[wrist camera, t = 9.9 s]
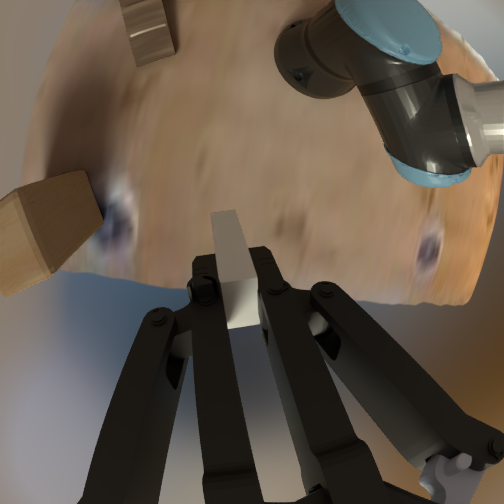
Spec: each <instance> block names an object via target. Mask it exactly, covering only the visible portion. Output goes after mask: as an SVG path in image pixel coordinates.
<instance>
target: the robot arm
mask: <svg viewBox="0 0 504 504" xmlns="http://www.w3.org/2000/svg"><path fill="white" fill-rule="evenodd" d="M440 38H441V35H440V32H439V30H438V28H437V25H436V24H435V22H434V20H433V19H432V17H431V16H430V14H429V13H428V12H427V11H426V9H425V8H424V7H423V6H422V5H421V4H420V3H419V2H418V1H417V0H332V1H331V2H329V3H328V4H327V5H326V6H325V7H324V8H323V9H322V10H320V11H319V12H318V13H317V14H316V15H315V16H314V17H313V18H308V19H304V20H300V21H297V22H295V23H293V24H291V25H289V26H288V27H287V28H286V29H285V30H284V31H283V32H282V33H281V34H280V35H279V37H278V39H277V41H276V43H275V48H274V57H275V62H276V65H277V68H278V70H279V72H280V73H281V75H282V76H283V78H284V79H285V80H286V81H287V82H288V83H289V84H290V85H291V86H292V87H293V88H294V89H296V90H297V91H299V92H301V93H302V94H304V95H307V96H310V97H313V98H317V99H331V98H335V97H339V96H342V95H344V94H346V93H348V92H349V91H351V90H352V89H353V88H354V87H355V86H357V87H358V89H359V91H360V93H361V95H362V97H363V99H364V101H365V103H366V105H367V107H368V109H369V111H370V113H371V115H372V117H373V119H374V122H375V124H376V126H377V128H378V130H379V133H380V135H381V137H382V139H383V142H384V147H385V150H386V152H387V153H388V154H389V156H390V157H391V160H392V162H393V164H394V167H395V169H396V170H397V172H398V173H399V174H400V175H401V176H402V177H403V178H404V179H406V180H407V181H409V182H411V183H413V184H416V185H420V186H424V187H433V188H441V187H448V186H452V185H453V183H457V184H459V183H461V182H463V181H464V180H466V179H467V178H468V176H469V175H470V173H471V169H472V167H481V166H482V165H483V163H484V162H485V160H486V159H487V157H488V156H490V155H491V154H504V81H492V82H482V83H471V82H469V81H467V80H466V79H464V78H463V77H461V76H460V75H458V74H448V75H443V74H442V73H441V70H440V68H439V66H438V64H437V62H436V60H437V58H438V57H439V56H440V55H441V52H442V42H441V41H440V40H439V39H440ZM210 215H211V223H212V231H213V239H214V247H215V254H209V255H202V256H196V258H195V259H194V261H193V262H192V275H193V276H192V278H191V279H190V281H189V282H188V283H187V290H188V294H189V297H190V303H189V304H188V305H187V306H185V307H184V308H182V309H180V310H177V311H175V312H173V311H172V310H170V309H169V308H165V307H160V308H155V309H153V310H151V311H150V312H148V313H147V314H146V316H145V317H144V319H143V321H142V323H141V326H140V328H139V330H138V333H137V335H136V338H135V340H134V343H133V345H132V347H131V349H130V352H129V354H128V357H127V359H126V362H125V364H124V367H123V369H122V372H121V375H120V377H119V380H118V383H117V385H116V388H115V391H114V393H113V396H112V399H111V402H110V405H109V408H108V410H107V413H106V416H105V419H104V422H103V425H102V428H101V431H100V435H99V438H98V441H97V444H96V447H95V451H94V454H93V458H92V461H91V465H90V469H89V472H88V476H87V480H86V484H85V488H84V492H83V496H82V498H81V499H80V501H79V502H78V503H77V504H158V501H159V496H160V490H161V484H162V479H163V473H164V469H165V463H166V458H167V453H168V449H169V444H170V438H171V434H172V429H173V425H174V420H175V415H176V411H177V407H178V402H179V398H180V393H181V389H182V385H183V380H184V376H185V372H186V368H187V364H188V360H189V356H191V355H193V368H194V383H195V395H196V406H197V415H198V416H197V417H198V426H199V435H200V444H201V450H202V459H203V466H204V474H203V479H202V485H203V493H204V499H205V504H469V503H470V501H471V499H472V497H473V495H474V493H475V491H476V489H477V487H478V485H479V483H480V481H481V478H482V476H483V474H484V471H485V470H486V469H487V468H489V467H491V466H493V465H495V464H497V463H499V462H500V461H501V460H502V459H503V457H504V434H503V433H502V432H501V431H499V430H497V429H495V428H493V427H491V426H489V425H487V424H485V423H483V422H481V421H479V420H477V419H475V418H473V417H471V416H469V415H467V414H465V413H464V412H463V410H462V409H461V408H460V407H459V406H458V405H457V404H456V403H455V402H454V401H453V400H452V398H451V397H450V396H449V395H448V394H447V393H446V392H445V391H444V390H443V389H442V388H441V387H440V386H439V385H438V384H437V383H436V381H435V380H434V379H433V378H432V377H431V376H430V375H429V374H428V373H427V372H426V371H425V370H424V369H423V368H422V367H421V366H420V365H419V364H418V363H417V362H416V361H415V360H414V359H413V358H412V357H411V356H410V355H409V354H408V353H407V352H406V351H405V350H404V349H403V348H402V347H401V346H400V345H399V344H398V343H397V342H396V341H395V340H394V339H393V338H392V337H391V336H390V335H389V334H388V333H387V332H386V331H385V330H384V329H383V328H382V327H381V326H380V325H379V324H378V323H377V322H376V321H375V320H374V319H373V318H372V317H371V316H370V315H369V314H368V313H367V312H365V310H363V309H362V308H361V307H360V306H359V305H358V304H357V303H356V302H355V301H354V300H353V299H352V298H351V297H350V296H349V295H348V294H347V293H346V292H345V291H343V290H342V289H341V288H340V287H339V286H338V285H336V284H335V283H332V282H328V281H322V282H317V283H316V284H314V285H313V286H312V288H311V290H300V289H295V288H292V287H291V285H290V284H289V283H288V282H286V281H284V279H283V277H282V275H281V273H280V270H279V268H278V266H277V264H276V261H275V259H274V258H273V255H272V253H271V251H270V250H269V249H268V248H266V247H265V246H261V247H254V248H248V247H247V244H246V241H245V238H244V234H243V231H242V228H241V225H240V222H239V219H238V216H237V213H236V210H228V211H221V212H213V213H210ZM259 318H260V320H259ZM260 322H261V325H262V343H265V346H266V350H267V353H268V357H269V361H270V364H271V368H272V371H273V375H274V378H275V382H276V385H277V389H278V392H279V396H280V399H281V403H282V406H283V410H284V413H285V416H286V420H287V423H288V427H289V430H290V434H291V437H292V440H293V444H294V447H295V451H296V454H297V457H298V461H299V464H300V467H301V476H302V481H303V485H304V488H305V492H306V495H307V496H305V497H303V498H301V499H299V500H297V501H296V502H285V503H284V502H280V503H279V502H278V503H277V502H264V500H263V496H262V493H261V488H260V484H259V480H258V476H257V472H256V467H255V463H254V458H253V454H252V450H251V445H250V441H249V436H248V431H247V427H246V422H245V417H244V412H243V407H242V402H241V397H240V393H239V387H238V382H237V377H236V372H235V366H234V361H233V355H232V350H231V344H230V338H229V333H228V329H231V328H237V327H243V326H249V325H255V324H259V323H260ZM323 358H324V359H323ZM324 360H325V361H326V362H327V363H328V365H329V366H330V367H331V368H332V369H333V371H334V372H335V373H336V375H337V376H338V377H339V378H340V380H341V381H342V382H343V383H344V385H345V386H346V387H347V388H348V390H349V391H350V392H351V393H352V395H353V396H354V397H355V398H356V400H357V401H358V402H359V403H360V405H361V406H362V407H363V408H364V410H365V411H366V412H367V413H368V414H369V416H370V417H371V418H372V419H373V421H374V422H375V423H376V424H377V426H378V427H379V428H380V429H381V431H382V432H383V433H384V434H385V435H386V437H387V438H388V439H389V440H390V442H391V443H392V444H393V445H394V446H395V448H396V449H397V450H398V451H399V453H400V454H401V455H402V456H403V457H404V458H405V459H406V460H407V461H408V462H409V463H410V464H412V465H413V466H414V467H415V468H417V469H419V470H420V471H422V474H421V476H420V478H419V483H420V485H421V486H424V487H425V488H426V489H427V490H428V491H429V493H430V495H431V500H428V499H425V498H423V497H420V496H418V495H415V494H412V493H410V492H408V491H406V490H403V489H401V488H399V487H396V486H394V485H392V484H390V483H387V482H385V481H383V480H382V477H381V475H380V473H379V470H378V467H377V465H376V463H375V460H374V458H373V456H372V453H371V451H370V449H369V447H368V445H367V444H366V443H365V442H364V441H363V440H361V439H359V438H358V437H357V436H356V434H355V432H354V429H353V427H352V425H351V422H350V420H349V417H348V415H347V412H346V410H345V408H344V405H343V403H342V401H341V398H340V396H339V393H338V391H337V389H336V386H335V384H334V382H333V379H332V377H331V375H330V372H329V370H328V368H327V366H326V363H325V361H324Z"/></svg>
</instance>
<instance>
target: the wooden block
mask: <svg viewBox="0 0 504 504" xmlns="http://www.w3.org/2000/svg"><path fill="white" fill-rule="evenodd" d="M102 225H103V218H102V215H101V213H100V210H99V207H98V205H97V202H96V199H95V197H94V194H93V191H92V188H91V186H90V183H89V180H88V177H87V174H86V172H85V171H84V170H77V171H73V172H69V173H65V174H62V175H58V176H55V177H51V178H48V179H44V180H41V181H38V182H34V183H31V184H28V185H25V186H22V187H19V188H17V189H14V190H13V191H12V192H10V193H9V194H7V195H6V196H5V197H3V198H2V199H1V200H0V292H1V293H2V295H3V296H11V295H13V294H15V293H17V292H20V291H22V290H24V289H26V288H28V287H30V286H33V285H35V284H37V283H39V282H41V281H44V280H46V279H48V278H50V277H52V276H53V275H54V274H55V273H56V272H57V271H58V269H59V268H60V267H61V266H62V265H63V264H64V263H65V262H66V261H67V260H68V259H69V258H70V257H71V256H72V255H73V253H74V252H75V251H76V250H77V249H78V248H79V247H80V246H81V245H82V244H83V243H84V242H85V241H86V240H87V239H88V238H89V237H90V236H92V235H93V234H94V233H95V232H96V231H97V230H98V229H99V228H100V227H101V226H102Z"/></svg>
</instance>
